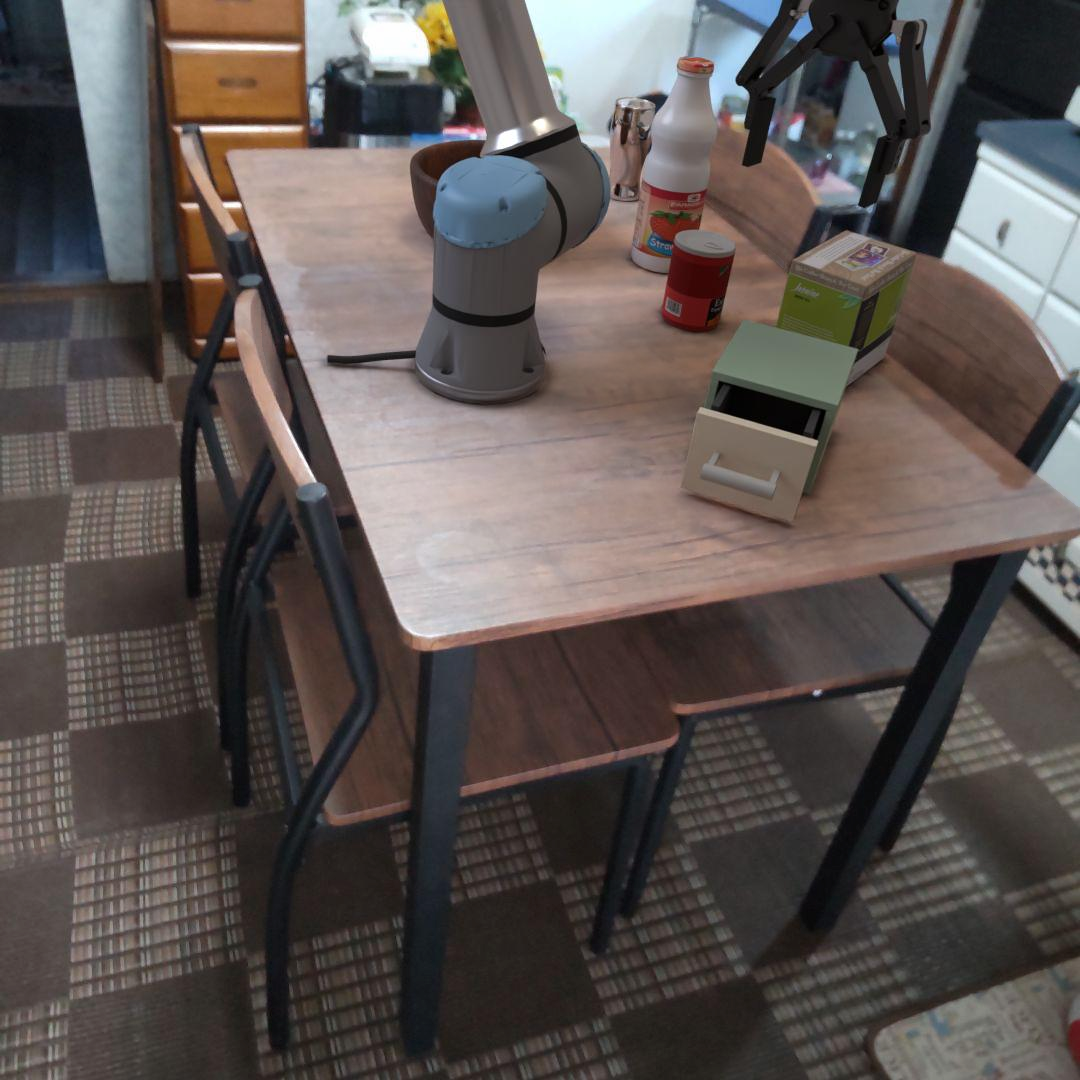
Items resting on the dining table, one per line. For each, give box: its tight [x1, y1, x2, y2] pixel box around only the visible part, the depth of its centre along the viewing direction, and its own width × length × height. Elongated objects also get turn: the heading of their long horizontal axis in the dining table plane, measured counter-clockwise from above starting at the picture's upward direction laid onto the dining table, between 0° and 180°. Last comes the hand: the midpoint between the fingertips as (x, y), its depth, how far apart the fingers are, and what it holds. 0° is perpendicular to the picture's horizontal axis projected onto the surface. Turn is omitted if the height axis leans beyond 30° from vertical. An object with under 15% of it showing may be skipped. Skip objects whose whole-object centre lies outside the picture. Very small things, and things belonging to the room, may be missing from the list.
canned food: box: [661, 229, 737, 332], centre depth 131 cm, size 8×8×11 cm
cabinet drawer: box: [680, 382, 823, 523], centre depth 100 cm, size 17×12×9 cm
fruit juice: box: [630, 55, 718, 274], centre depth 141 cm, size 9×9×28 cm
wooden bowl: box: [409, 139, 486, 240], centre depth 148 cm, size 25×25×10 cm
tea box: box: [775, 229, 918, 387], centre depth 123 cm, size 15×10×15 cm
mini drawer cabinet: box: [703, 318, 858, 495], centre depth 107 cm, size 14×13×11 cm
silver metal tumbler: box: [608, 96, 656, 202], centre depth 166 cm, size 7×7×15 cm
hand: (807, 184), depth 102 cm, fingers open, 13 cm apart
